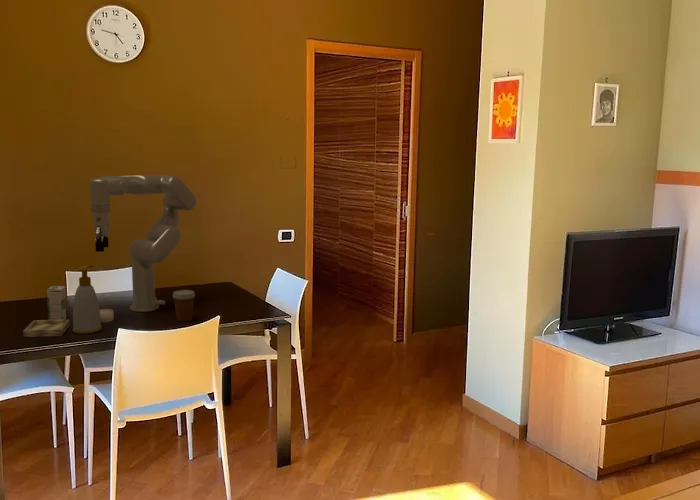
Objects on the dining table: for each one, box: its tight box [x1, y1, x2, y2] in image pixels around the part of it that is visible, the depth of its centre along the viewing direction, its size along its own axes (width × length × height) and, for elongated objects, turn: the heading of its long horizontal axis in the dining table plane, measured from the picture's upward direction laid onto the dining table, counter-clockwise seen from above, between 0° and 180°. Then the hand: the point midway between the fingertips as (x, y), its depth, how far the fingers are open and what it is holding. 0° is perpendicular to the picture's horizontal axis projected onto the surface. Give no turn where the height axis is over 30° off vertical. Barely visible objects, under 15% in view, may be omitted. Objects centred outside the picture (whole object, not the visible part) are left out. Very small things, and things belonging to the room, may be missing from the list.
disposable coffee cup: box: [172, 289, 196, 322], centre depth 291 cm, size 10×10×12 cm
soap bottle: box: [72, 264, 103, 335], centre depth 271 cm, size 11×12×26 cm
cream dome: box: [99, 308, 115, 323], centre depth 288 cm, size 7×7×4 cm
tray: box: [22, 319, 71, 338], centre depth 271 cm, size 14×14×2 cm
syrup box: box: [46, 285, 67, 320], centre depth 284 cm, size 6×6×14 cm
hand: (102, 249), depth 284 cm, fingers open, 9 cm apart
